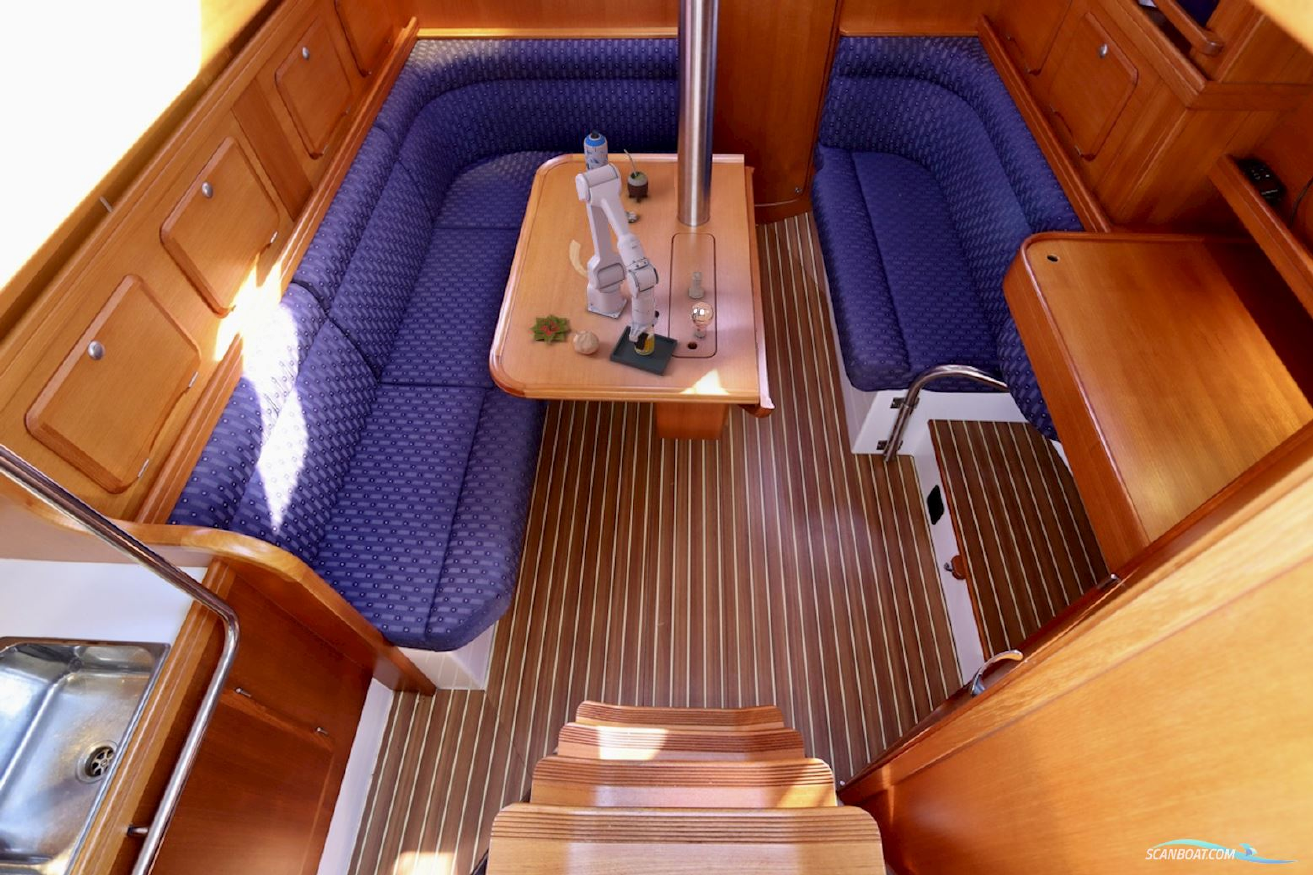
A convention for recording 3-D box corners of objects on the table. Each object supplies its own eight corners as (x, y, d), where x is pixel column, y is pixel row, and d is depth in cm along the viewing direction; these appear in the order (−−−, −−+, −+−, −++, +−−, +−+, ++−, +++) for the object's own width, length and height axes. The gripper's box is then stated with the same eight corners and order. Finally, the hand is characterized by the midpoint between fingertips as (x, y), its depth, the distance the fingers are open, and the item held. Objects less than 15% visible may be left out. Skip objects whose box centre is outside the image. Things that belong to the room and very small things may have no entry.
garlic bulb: (584, 338, 183) (581, 318, 176) (603, 347, 181) (601, 327, 175) (571, 353, 180) (568, 334, 173) (590, 362, 178) (587, 343, 171)
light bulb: (704, 348, 181) (707, 317, 171) (683, 338, 183) (684, 307, 173) (716, 332, 184) (719, 302, 174) (695, 323, 186) (697, 292, 176)
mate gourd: (648, 203, 217) (647, 162, 204) (624, 203, 217) (622, 162, 204) (648, 189, 221) (648, 149, 209) (625, 189, 221) (623, 148, 209)
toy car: (638, 221, 212) (637, 214, 209) (614, 225, 211) (613, 217, 208) (635, 214, 214) (635, 207, 211) (611, 218, 213) (611, 210, 210)
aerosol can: (585, 182, 223) (580, 126, 207) (608, 178, 224) (604, 123, 208) (589, 195, 219) (584, 140, 203) (612, 192, 220) (609, 137, 204)
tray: (610, 360, 178) (609, 355, 177) (627, 330, 185) (626, 325, 183) (661, 376, 175) (661, 371, 174) (677, 344, 182) (677, 339, 180)
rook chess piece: (705, 290, 194) (707, 270, 187) (701, 300, 191) (702, 280, 185) (691, 287, 195) (692, 266, 188) (686, 297, 192) (687, 276, 186)
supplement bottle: (652, 356, 177) (651, 332, 169) (632, 353, 177) (631, 329, 169) (656, 342, 180) (656, 317, 172) (637, 339, 180) (636, 314, 172)
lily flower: (569, 346, 181) (567, 335, 177) (526, 346, 181) (523, 334, 178) (573, 315, 188) (571, 304, 184) (532, 315, 188) (529, 303, 184)
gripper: (647, 328, 160) (647, 364, 172) (667, 290, 168) (666, 326, 179) (620, 320, 162) (623, 356, 173) (642, 283, 169) (643, 320, 181)
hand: (643, 341), depth 176 cm, fingers closed on supplement bottle, 5 cm apart
